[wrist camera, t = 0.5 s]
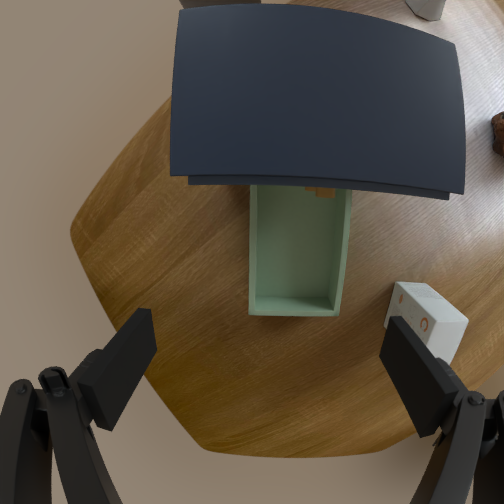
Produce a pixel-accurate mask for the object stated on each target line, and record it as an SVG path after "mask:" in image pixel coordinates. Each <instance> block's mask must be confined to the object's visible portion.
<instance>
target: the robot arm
mask: <svg viewBox="0 0 504 504" xmlns="http://www.w3.org/2000/svg"><path fill="white" fill-rule="evenodd" d="M156 351H157V346H156V340H155V334H154V328H153V321H152V314H151V309H144V308H138V309H137V310H136V311H135V312H134V313H133V315H132V316H131V317H130V318H129V319H128V320H127V322H126V323H125V324H124V325H123V326H122V327H121V328H120V330H119V331H118V332H117V333H116V334H115V336H114V337H113V338H112V339H111V340H110V342H109V343H108V344H107V345H106V346H105V347H104V349H103V350H101V349H96V350H94V351H92V352H91V353H89V354H88V355H87V356H86V358H85V359H84V361H82V362H81V363H80V365H79V366H78V367H77V368H76V369H75V370H74V372H73V373H72V374H71V375H70V376H69V377H67V375H66V372H65V371H64V369H62V368H61V367H57V366H56V367H49V368H46V369H44V370H43V371H42V372H41V373H40V374H39V377H38V380H39V382H40V384H41V386H42V388H43V390H42V389H34V387H33V385H32V383H31V382H30V381H29V380H26V379H20V380H17V381H15V382H14V383H12V384H11V386H10V387H9V390H8V393H7V396H6V399H5V402H4V405H3V408H2V412H1V415H0V504H52V497H51V472H52V471H51V469H52V450H53V449H54V454H55V459H56V463H57V467H58V471H59V474H60V478H61V482H62V485H63V489H64V492H65V496H66V498H67V502H68V504H123V503H122V501H121V499H120V497H119V495H118V493H117V491H116V489H115V487H114V485H113V483H112V480H111V478H110V476H109V473H108V471H107V469H106V466H105V464H104V461H103V459H102V456H101V454H100V451H99V448H98V446H97V443H96V440H95V437H94V434H93V431H92V428H91V426H90V423H91V421H92V420H93V419H94V421H95V423H96V425H97V427H99V428H102V429H105V430H108V431H112V430H113V429H114V427H115V425H116V423H117V421H118V419H119V417H120V415H121V414H122V412H123V410H124V408H125V406H126V404H127V402H128V401H129V399H130V397H131V396H132V394H133V392H134V390H135V388H136V386H137V385H138V383H139V381H140V379H141V378H142V376H143V374H144V372H145V371H146V369H147V367H148V365H149V364H150V362H151V360H152V358H153V357H154V355H155V353H156ZM379 357H380V359H381V361H382V363H383V365H384V367H385V368H386V370H387V372H388V374H389V376H390V378H391V380H392V382H393V384H394V386H395V388H396V389H397V391H398V393H399V395H400V397H401V399H402V401H403V403H404V405H405V407H406V409H407V411H408V414H409V416H410V418H411V420H412V422H413V424H414V426H415V428H416V430H417V432H418V434H419V437H420V438H422V437H426V436H429V435H432V434H434V433H435V431H436V430H437V428H438V427H439V426H440V427H441V429H442V432H441V434H440V435H439V437H438V438H437V439H436V441H435V443H434V444H433V446H435V444H436V446H435V448H434V451H433V454H432V456H431V459H430V461H429V464H428V466H427V469H426V471H425V473H424V475H423V477H422V480H421V482H420V484H419V486H418V488H417V490H416V492H415V494H414V496H413V498H412V500H411V502H410V504H465V501H466V499H467V496H468V492H469V489H470V486H471V483H472V478H473V475H474V485H473V500H472V504H504V390H503V391H501V392H500V393H499V395H498V397H497V398H496V399H485V397H484V396H483V395H482V394H481V393H479V392H476V391H468V389H467V388H466V387H465V385H464V384H463V383H462V381H461V380H460V379H459V377H458V376H457V375H455V372H454V371H453V370H452V368H451V367H450V366H449V365H448V363H447V362H446V361H444V360H443V359H441V358H440V357H438V358H435V357H434V355H433V354H432V353H431V352H430V350H429V349H428V348H427V347H426V345H425V344H424V343H423V342H422V340H421V339H420V338H419V337H418V335H417V334H416V333H415V332H414V330H413V329H412V328H411V327H410V326H409V324H408V323H407V322H406V321H405V320H404V318H403V317H402V316H390V317H389V321H388V326H387V329H386V333H385V337H384V341H383V344H382V348H381V352H380V355H379Z"/></svg>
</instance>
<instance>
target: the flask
mask: <svg viewBox="0 0 504 504" xmlns="http://www.w3.org/2000/svg"><path fill="white" fill-rule="evenodd" d="M445 1H446V0H406V2H407V4H408V5H409V6H410V8H411V9H412V10H413V12H414V13H415V14H416V15H418V16H420V17H423V18H425V19H427V20H429V21H434V20H440V18H441V15H442V11H443V8H444V5H445Z"/></svg>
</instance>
